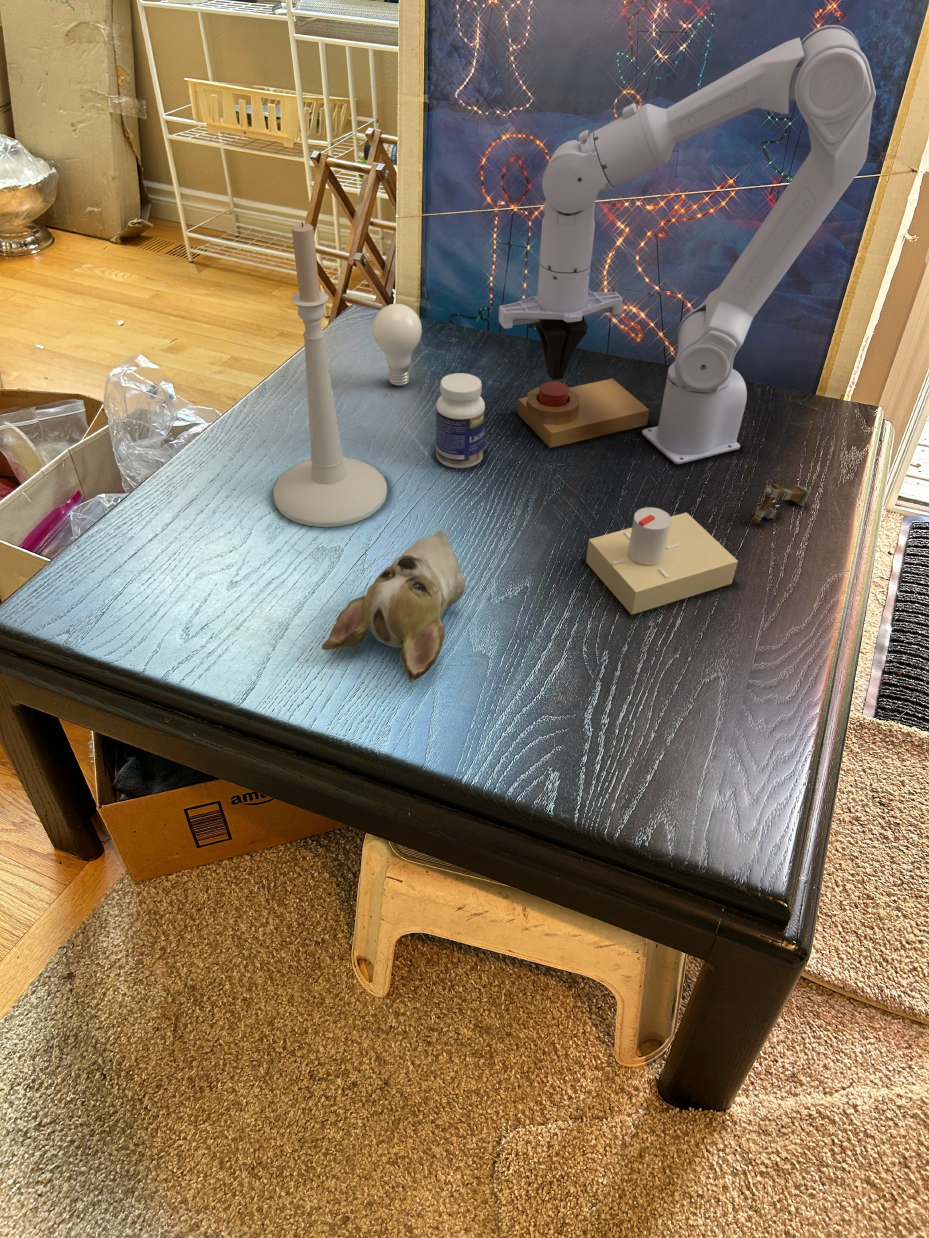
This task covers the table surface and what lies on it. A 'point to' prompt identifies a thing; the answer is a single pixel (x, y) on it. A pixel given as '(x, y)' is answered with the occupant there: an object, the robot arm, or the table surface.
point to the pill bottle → (460, 421)
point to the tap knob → (649, 536)
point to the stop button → (553, 394)
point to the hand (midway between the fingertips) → (555, 375)
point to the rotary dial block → (662, 566)
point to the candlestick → (323, 423)
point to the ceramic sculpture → (406, 605)
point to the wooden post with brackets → (774, 491)
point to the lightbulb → (397, 339)
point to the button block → (583, 413)
